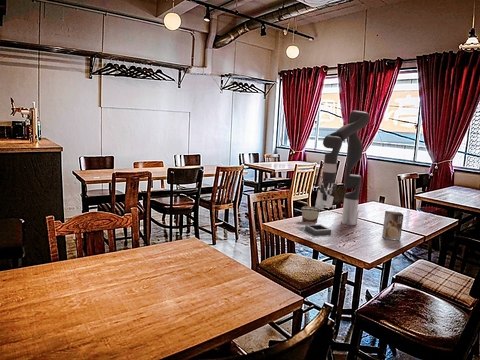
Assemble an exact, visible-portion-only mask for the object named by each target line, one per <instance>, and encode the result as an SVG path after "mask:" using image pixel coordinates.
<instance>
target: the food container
mask: <svg viewBox="0 0 480 360" xmlns="http://www.w3.org/2000/svg"><path fill="white" fill-rule="evenodd" d="M300 209H301V210H300V211H301V217H302V218H301V222H302V223H305V222H310V223H318V219H319V216H320V215H319V214H320V213H321V209H319V208H316V207H315V206H310V205H309V206H308V205H307V206H302V207H301V208H300Z"/></svg>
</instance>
